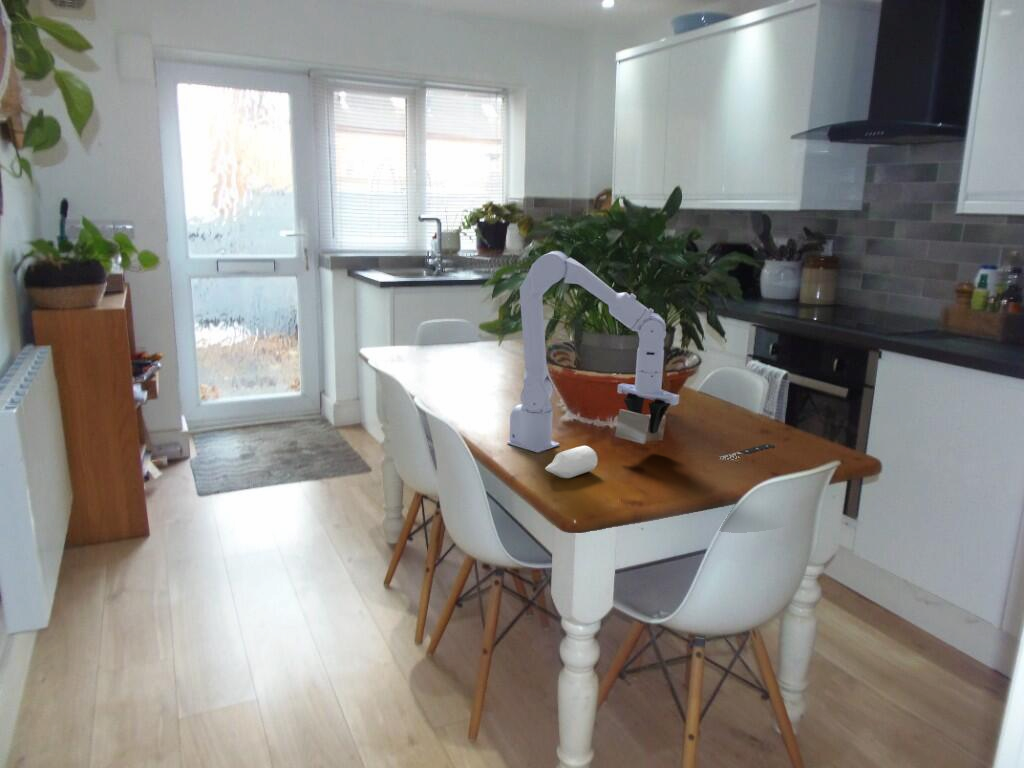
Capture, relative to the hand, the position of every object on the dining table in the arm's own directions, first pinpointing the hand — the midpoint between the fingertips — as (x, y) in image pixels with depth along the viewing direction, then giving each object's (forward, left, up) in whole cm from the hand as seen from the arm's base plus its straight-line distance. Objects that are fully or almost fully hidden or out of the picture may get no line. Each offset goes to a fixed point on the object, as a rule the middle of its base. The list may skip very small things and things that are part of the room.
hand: (645, 429), depth 166 cm
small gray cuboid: (0, -1, -2) cm, 2 cm away
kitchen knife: (+17, +13, -6) cm, 23 cm away
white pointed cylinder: (-3, -17, -3) cm, 17 cm away
